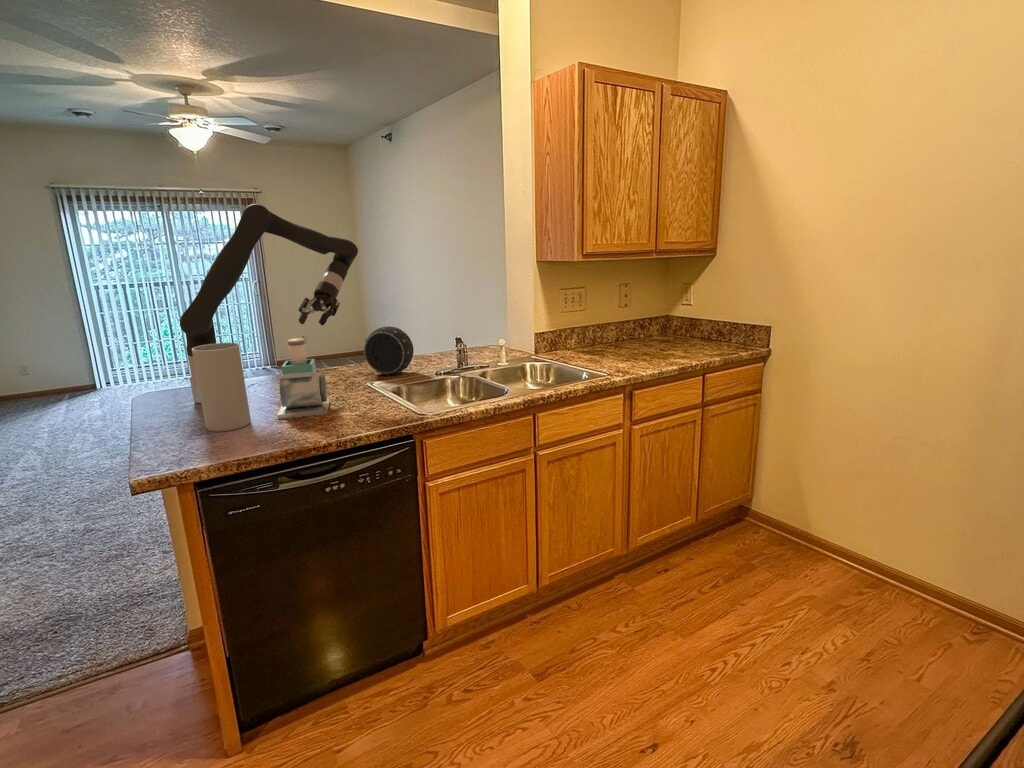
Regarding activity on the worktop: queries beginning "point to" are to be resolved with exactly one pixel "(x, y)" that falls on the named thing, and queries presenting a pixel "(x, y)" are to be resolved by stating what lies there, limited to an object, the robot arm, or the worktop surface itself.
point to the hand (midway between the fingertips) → (310, 323)
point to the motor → (302, 391)
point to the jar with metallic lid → (297, 351)
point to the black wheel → (388, 350)
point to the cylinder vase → (221, 386)
